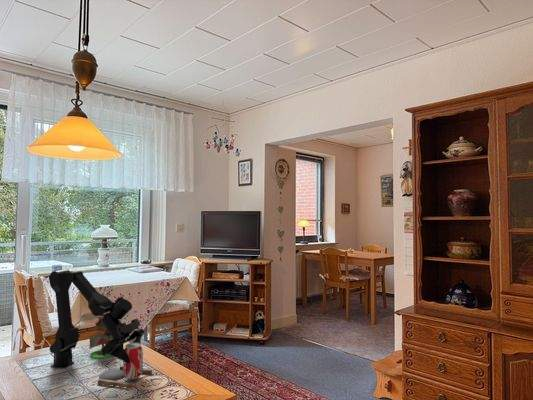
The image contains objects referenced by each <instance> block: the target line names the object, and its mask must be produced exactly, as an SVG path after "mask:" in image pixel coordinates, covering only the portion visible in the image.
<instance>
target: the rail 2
mask: <svg viewBox="0 0 533 400" xmlns="http://www.w3.org/2000/svg"><path fill="white" fill-rule="evenodd" d="M119 369H120V370H123V365H120V366H119ZM143 373H145V374H144V375H152V374H153V369H152V368H151V369H150V368H144V367H143V370H142V374H143Z"/></svg>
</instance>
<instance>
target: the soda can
mask: <svg viewBox="0 0 533 400" xmlns="http://www.w3.org/2000/svg"><path fill="white" fill-rule="evenodd" d="M143 349H144V348H143V347H142V343H141V344H140V343H137V342H134V343H129V342H128V343H127V344H125V347H124V350H125V352H126V354H127V356H128V357H129V359H130V363H126V362H124V361H122V362H123V365H122V366H123V373H124V377H123V378H126V379H128V380H136V379H138V378H140V376H141V375H143V373H142V370H143V368H144V367H143V366H144V365H143V364H144V363H143V362H144V361H143V360H144V357H143V356H144V352H143V351H144V350H143Z"/></svg>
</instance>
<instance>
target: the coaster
mask: <svg viewBox="0 0 533 400" xmlns="http://www.w3.org/2000/svg"><path fill="white" fill-rule="evenodd" d="M122 377H123V378H125V377H124V373H123V370H120V368H119V369H110V370H106V371H103V372H102V373H100V374H99V375H98V380H99V379H105V380H114V381H117V380H116V379H119V380H120V378H121V379H123V378H122Z"/></svg>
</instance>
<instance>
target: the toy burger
mask: <svg viewBox="0 0 533 400" xmlns="http://www.w3.org/2000/svg"><path fill="white" fill-rule="evenodd" d="M98 321H99V319H97V320H96V321H95V326H94V327H95V331H100V332H101V333H96V334H92V335H91V336H90V337H89V347H88V349H89V350H91V349H93V348H96V347H98V346H101V347H98V349H97V350H94V351H92V352H91V353H90V358H92V359H98V360H99V359H105V358H111V357H113V356H112V355H109V354H110V353H111V352H110V353H109V354H107V355H105V356H104V355H103V353H102V348H103V347H104V346H105V345H106V344H107V343H108V341H111V340H113V339H112V337H111V336H109V337H108V336H107V334H108V333H109V332H108V331H107V329H106V328H105V326H104V325H103V324H101V325H98ZM103 331H104V332H103Z"/></svg>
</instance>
